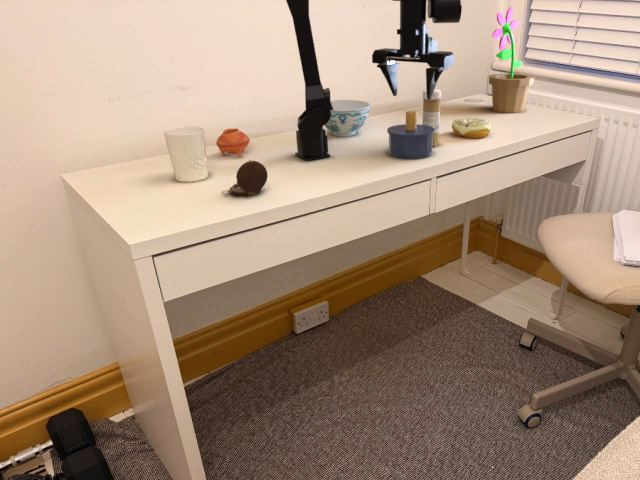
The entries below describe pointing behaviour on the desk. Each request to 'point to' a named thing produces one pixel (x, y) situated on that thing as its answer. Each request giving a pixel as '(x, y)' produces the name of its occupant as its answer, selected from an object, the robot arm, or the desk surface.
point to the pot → (232, 141)
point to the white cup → (187, 152)
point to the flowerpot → (510, 87)
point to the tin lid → (411, 127)
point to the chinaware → (347, 116)
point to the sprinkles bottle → (432, 113)
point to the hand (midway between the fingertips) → (411, 97)
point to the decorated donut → (471, 127)
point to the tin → (410, 146)
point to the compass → (249, 179)
